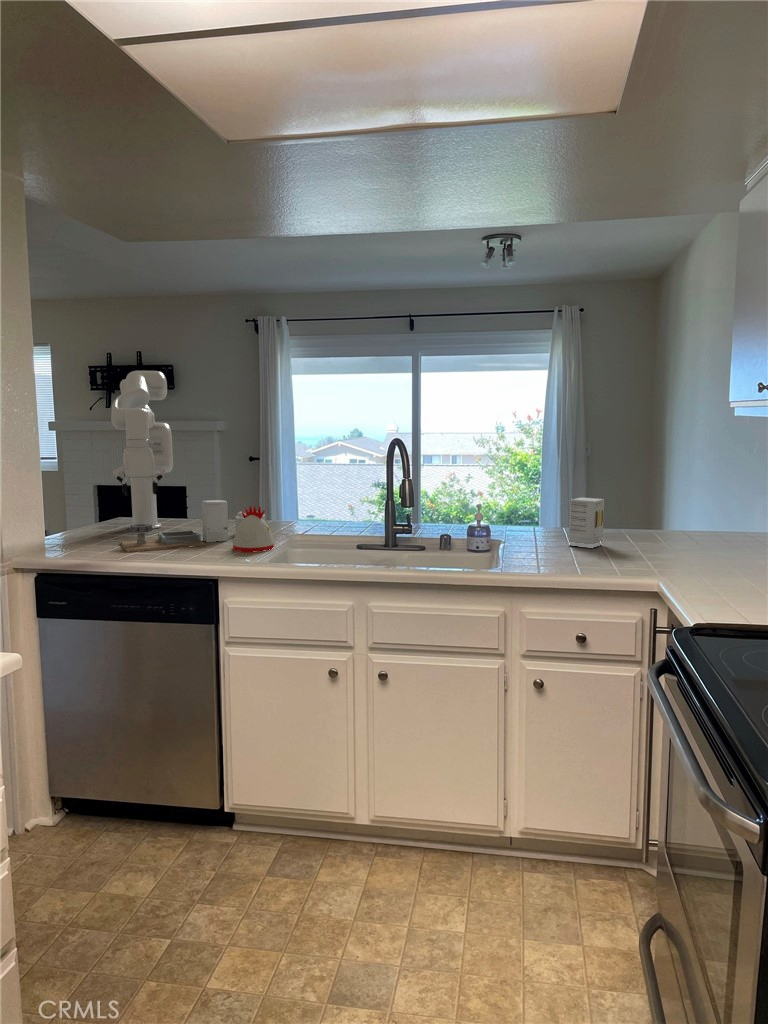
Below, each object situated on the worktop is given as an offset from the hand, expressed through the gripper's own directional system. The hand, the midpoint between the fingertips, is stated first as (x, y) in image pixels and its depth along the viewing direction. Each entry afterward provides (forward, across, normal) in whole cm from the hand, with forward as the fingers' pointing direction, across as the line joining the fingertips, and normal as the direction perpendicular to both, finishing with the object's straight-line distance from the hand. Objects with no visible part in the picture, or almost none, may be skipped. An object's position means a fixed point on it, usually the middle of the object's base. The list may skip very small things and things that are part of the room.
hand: (140, 494), depth 248 cm
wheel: (+13, 0, -3) cm, 13 cm away
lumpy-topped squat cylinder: (+19, -41, -11) cm, 46 cm away
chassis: (+19, -7, -3) cm, 20 cm away
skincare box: (+19, -26, -3) cm, 32 cm away
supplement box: (+19, -142, +64) cm, 157 cm away
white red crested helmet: (+19, -34, +18) cm, 43 cm away
